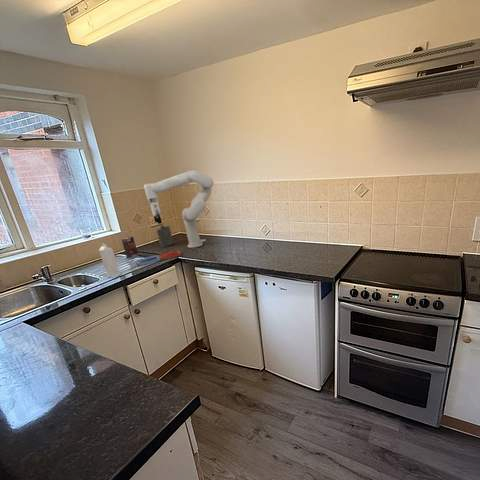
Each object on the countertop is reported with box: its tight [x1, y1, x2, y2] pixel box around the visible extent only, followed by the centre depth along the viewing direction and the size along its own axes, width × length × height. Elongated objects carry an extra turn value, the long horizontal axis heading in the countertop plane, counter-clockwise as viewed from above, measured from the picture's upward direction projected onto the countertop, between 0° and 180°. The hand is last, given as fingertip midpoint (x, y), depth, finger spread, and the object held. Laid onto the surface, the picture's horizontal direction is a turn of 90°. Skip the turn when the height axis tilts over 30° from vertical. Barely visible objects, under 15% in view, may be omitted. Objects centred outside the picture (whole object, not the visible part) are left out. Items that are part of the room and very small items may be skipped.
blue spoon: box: [140, 257, 157, 263], centre depth 222 cm, size 12×4×2 cm, turn 122°
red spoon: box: [162, 252, 178, 257], centre depth 229 cm, size 12×4×2 cm, turn 122°
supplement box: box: [121, 236, 139, 260], centre depth 236 cm, size 9×5×16 cm, turn 168°
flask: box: [156, 224, 174, 249], centre depth 260 cm, size 4×14×18 cm, turn 156°
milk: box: [98, 243, 121, 279], centre depth 196 cm, size 6×6×22 cm
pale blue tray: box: [135, 254, 161, 267], centre depth 222 cm, size 15×11×2 cm
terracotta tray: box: [157, 250, 182, 262], centre depth 229 cm, size 15×11×2 cm
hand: (158, 222), depth 233 cm, fingers open, 9 cm apart
